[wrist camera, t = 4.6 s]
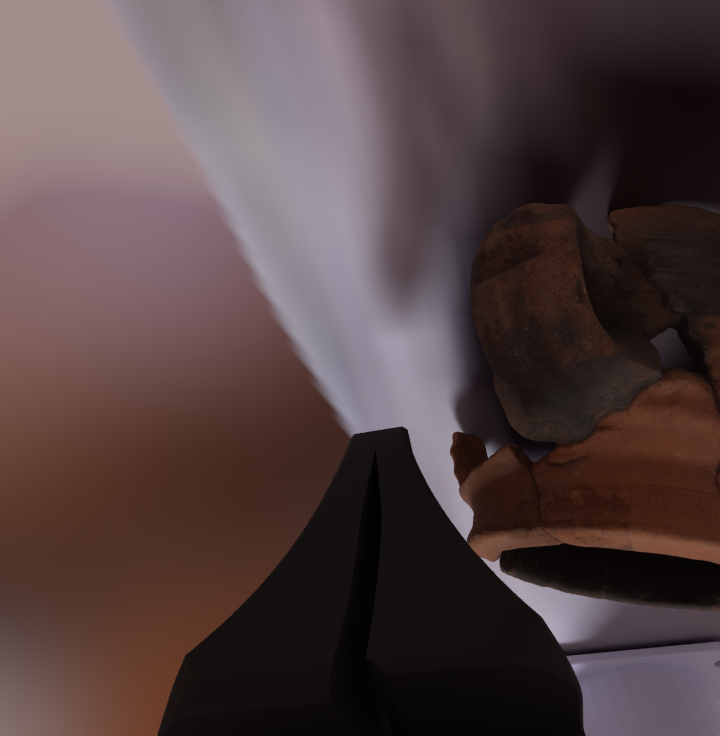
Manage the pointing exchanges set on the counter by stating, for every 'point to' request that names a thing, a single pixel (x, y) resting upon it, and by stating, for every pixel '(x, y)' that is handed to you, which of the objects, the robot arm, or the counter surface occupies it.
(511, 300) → the pottery mug
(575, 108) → the counter surface
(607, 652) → the robot arm
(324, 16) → the counter surface
